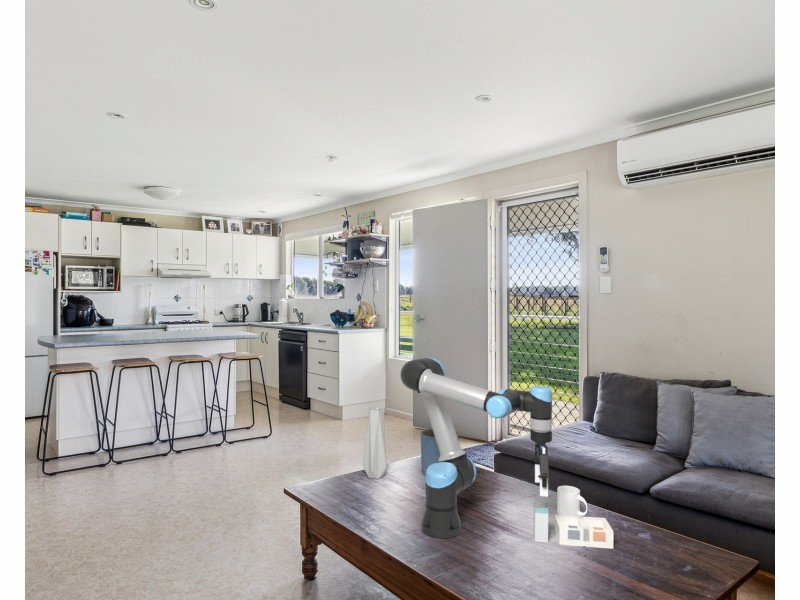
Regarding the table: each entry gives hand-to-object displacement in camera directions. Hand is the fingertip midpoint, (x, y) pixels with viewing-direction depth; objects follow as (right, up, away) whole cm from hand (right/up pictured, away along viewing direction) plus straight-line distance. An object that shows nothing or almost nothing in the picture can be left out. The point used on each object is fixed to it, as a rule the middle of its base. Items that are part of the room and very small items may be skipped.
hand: (541, 488), depth 180 cm
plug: (0, -18, 0) cm, 18 cm away
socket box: (+15, -18, 0) cm, 23 cm away
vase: (-62, -19, +65) cm, 92 cm away
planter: (-31, -19, +71) cm, 80 cm away
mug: (+18, -19, +18) cm, 31 cm away
